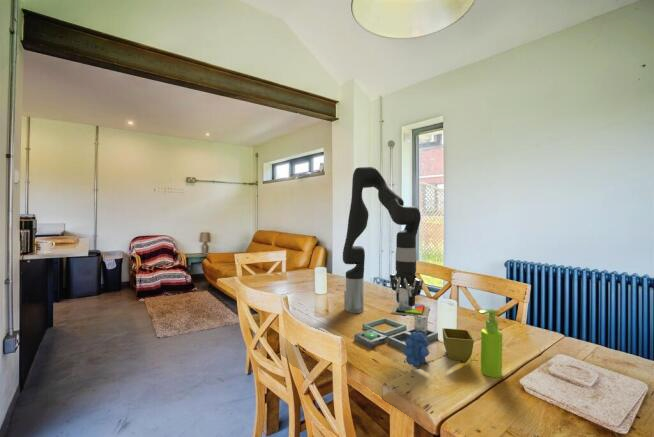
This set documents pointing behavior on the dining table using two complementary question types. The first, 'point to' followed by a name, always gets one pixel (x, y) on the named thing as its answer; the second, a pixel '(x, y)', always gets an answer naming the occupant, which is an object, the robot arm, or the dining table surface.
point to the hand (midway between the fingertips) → (405, 304)
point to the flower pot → (458, 344)
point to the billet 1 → (404, 299)
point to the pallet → (400, 338)
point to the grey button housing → (370, 343)
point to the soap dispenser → (491, 346)
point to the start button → (370, 335)
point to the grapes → (416, 349)
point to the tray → (369, 325)
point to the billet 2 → (421, 324)
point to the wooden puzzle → (416, 310)
